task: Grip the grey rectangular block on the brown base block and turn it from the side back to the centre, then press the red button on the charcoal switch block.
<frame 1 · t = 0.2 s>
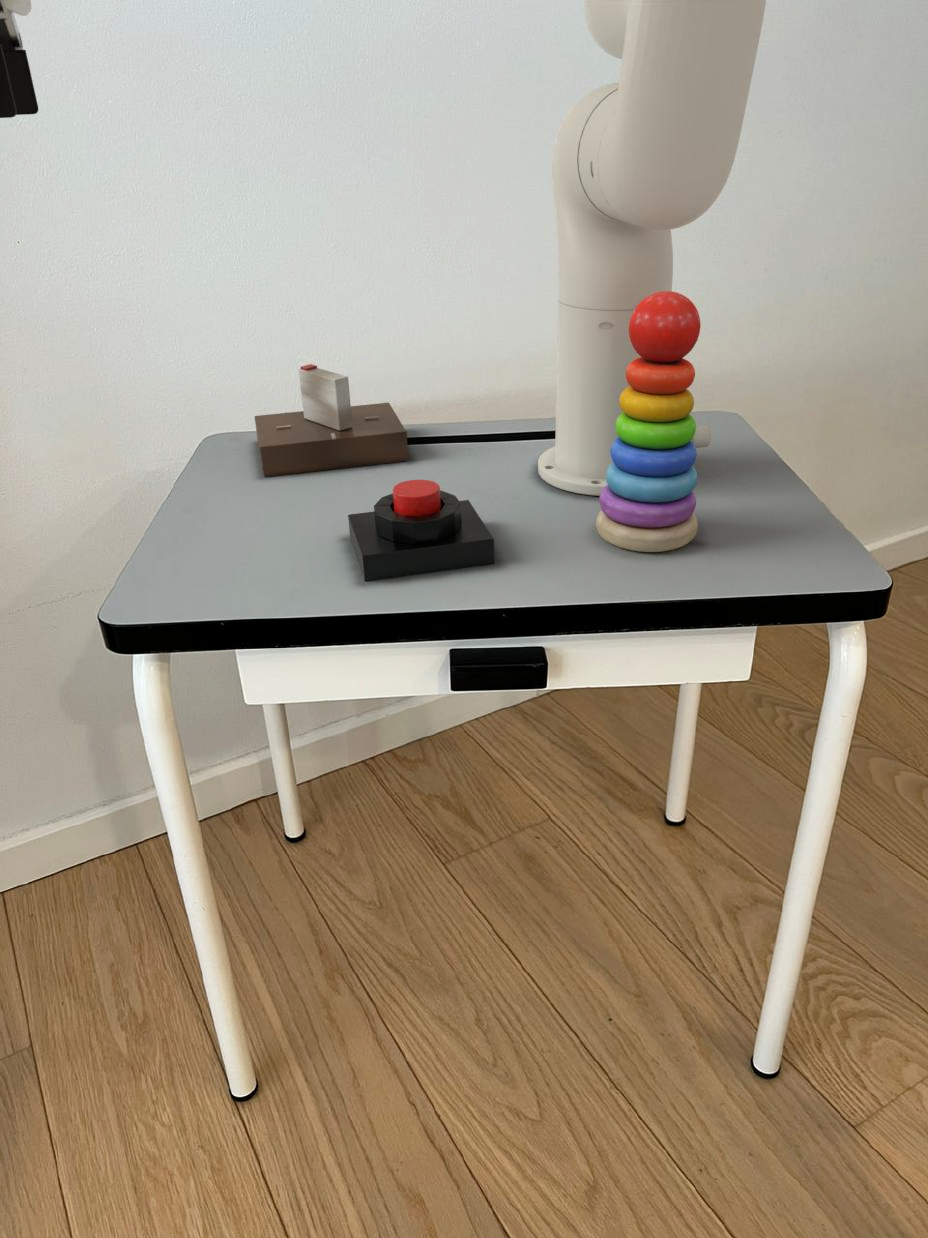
hand: (4, 115, 64), 31 cm above the table, tool pointing down, fingers open, 9 cm apart
grey rectangular block: (325, 396, 93), point 6 cm above the table, hinge at -60.0°
button: (417, 498, 72), point 4 cm above the table, slide at 0.1 cm
switch block: (420, 551, 74), on the table
stacking toy: (645, 537, 76), on the table
brown base block: (331, 452, 95), on the table
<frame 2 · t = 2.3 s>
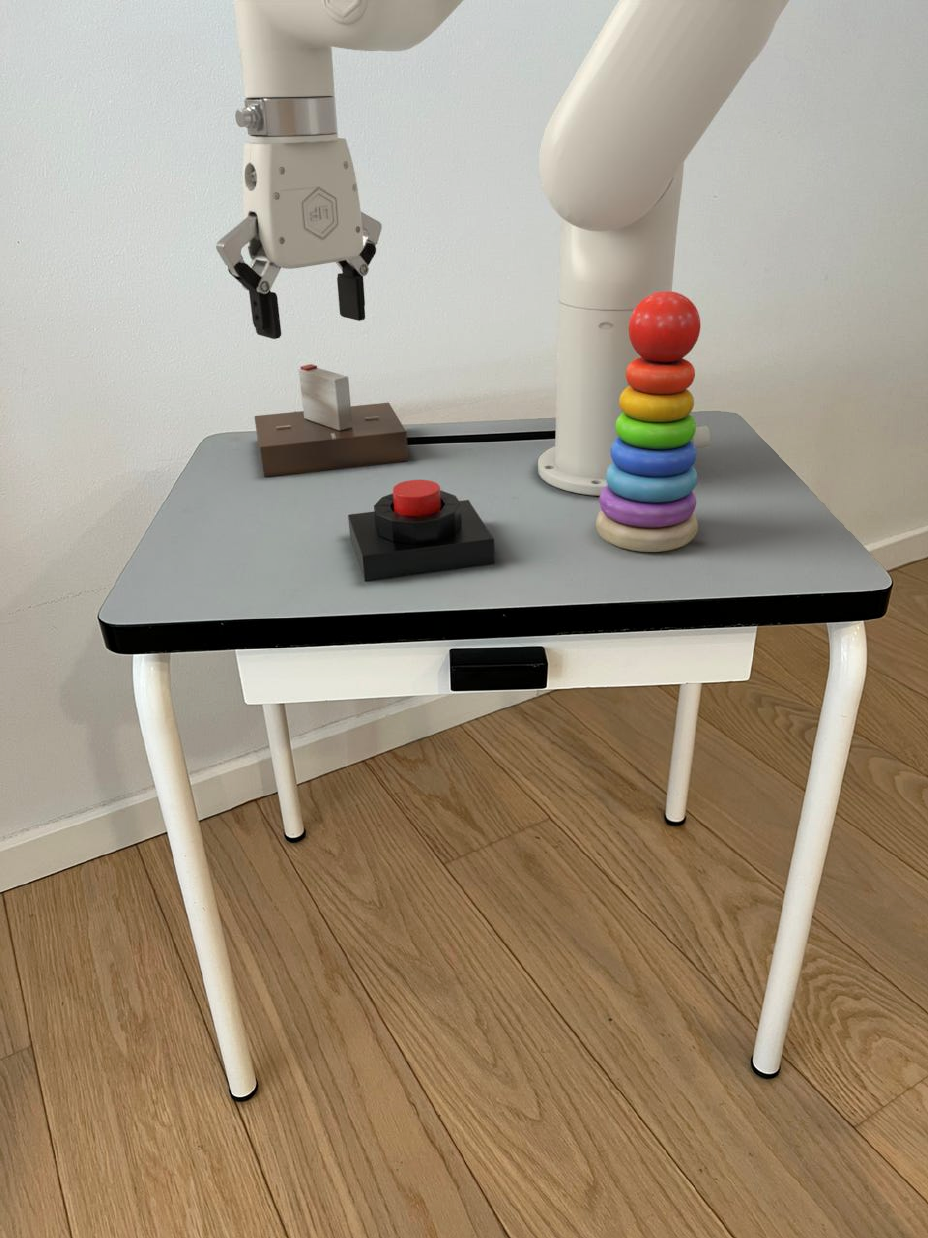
hand: (312, 326, 89), 12 cm above the table, tool pointing down, fingers open, 9 cm apart
nothing on the table moved.
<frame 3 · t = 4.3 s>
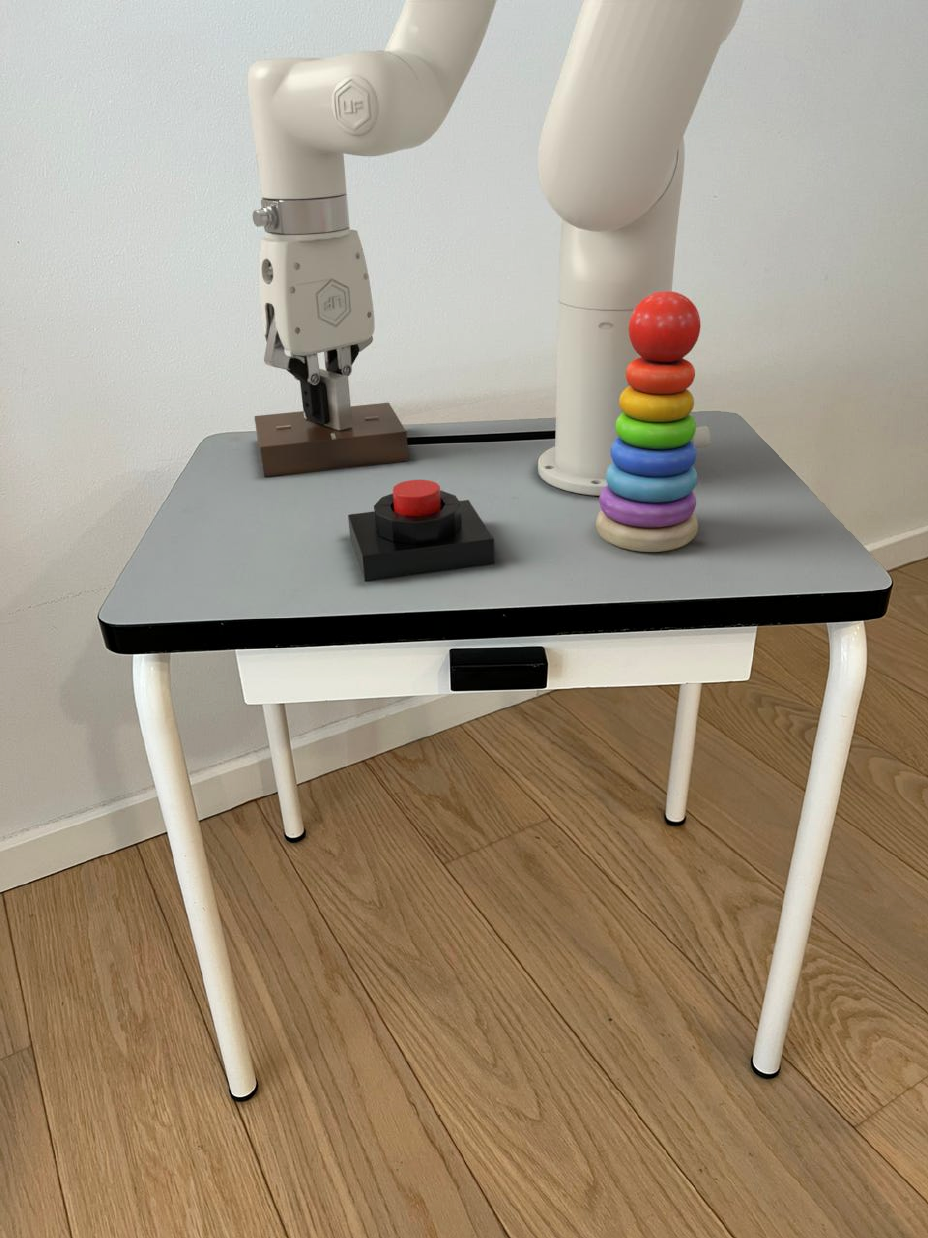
hand: (327, 416, 94), 4 cm above the table, tool pointing down, fingers closed on grey rectangular block
grey rectangular block: (325, 396, 93), point 6 cm above the table, hinge at -60.0°, touching gripper
everything else where it was.
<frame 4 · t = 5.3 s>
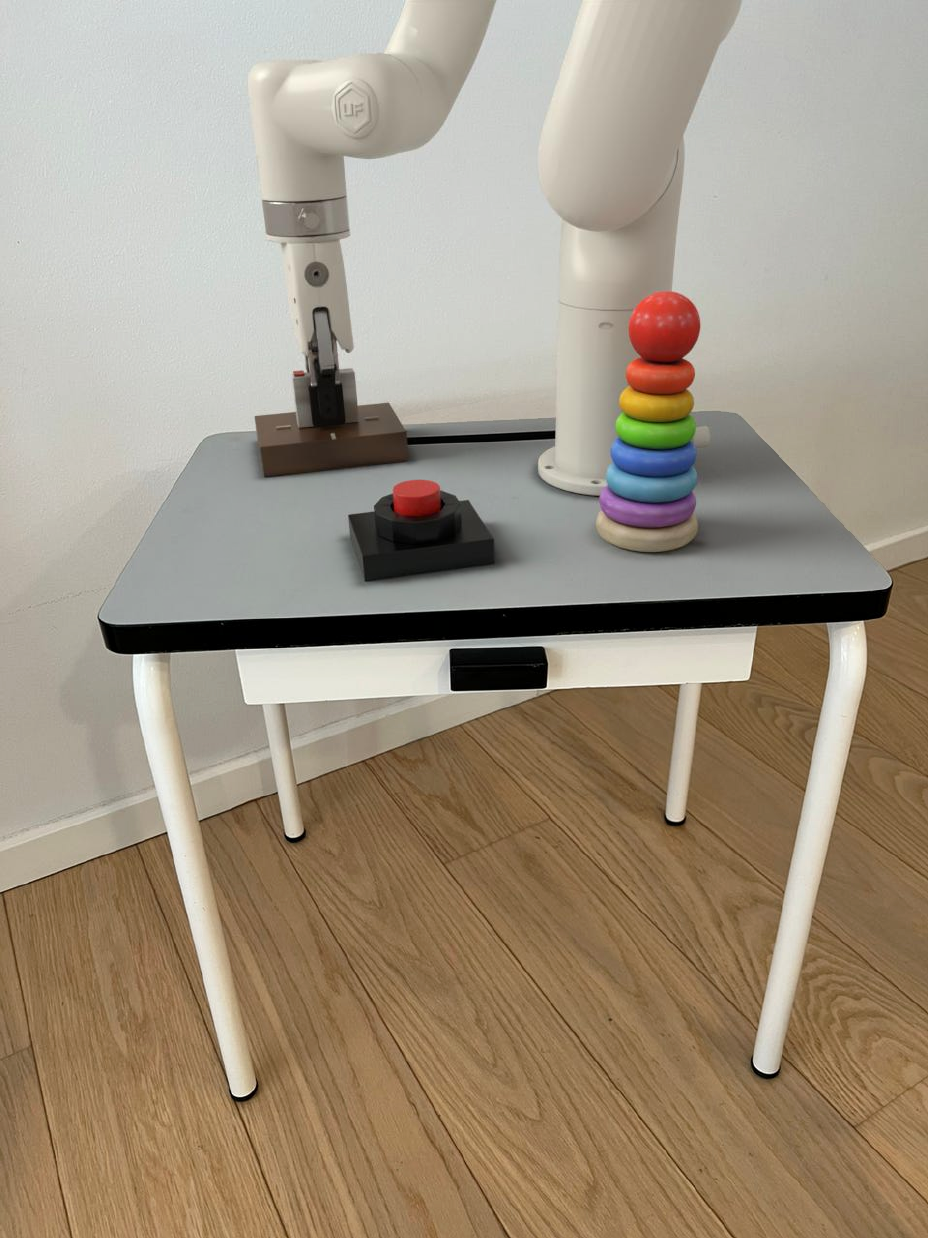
hand: (327, 418, 94), 4 cm above the table, tool pointing down, fingers closed
grey rectangular block: (325, 396, 93), point 6 cm above the table, hinge at -0.1°
everything else where it was.
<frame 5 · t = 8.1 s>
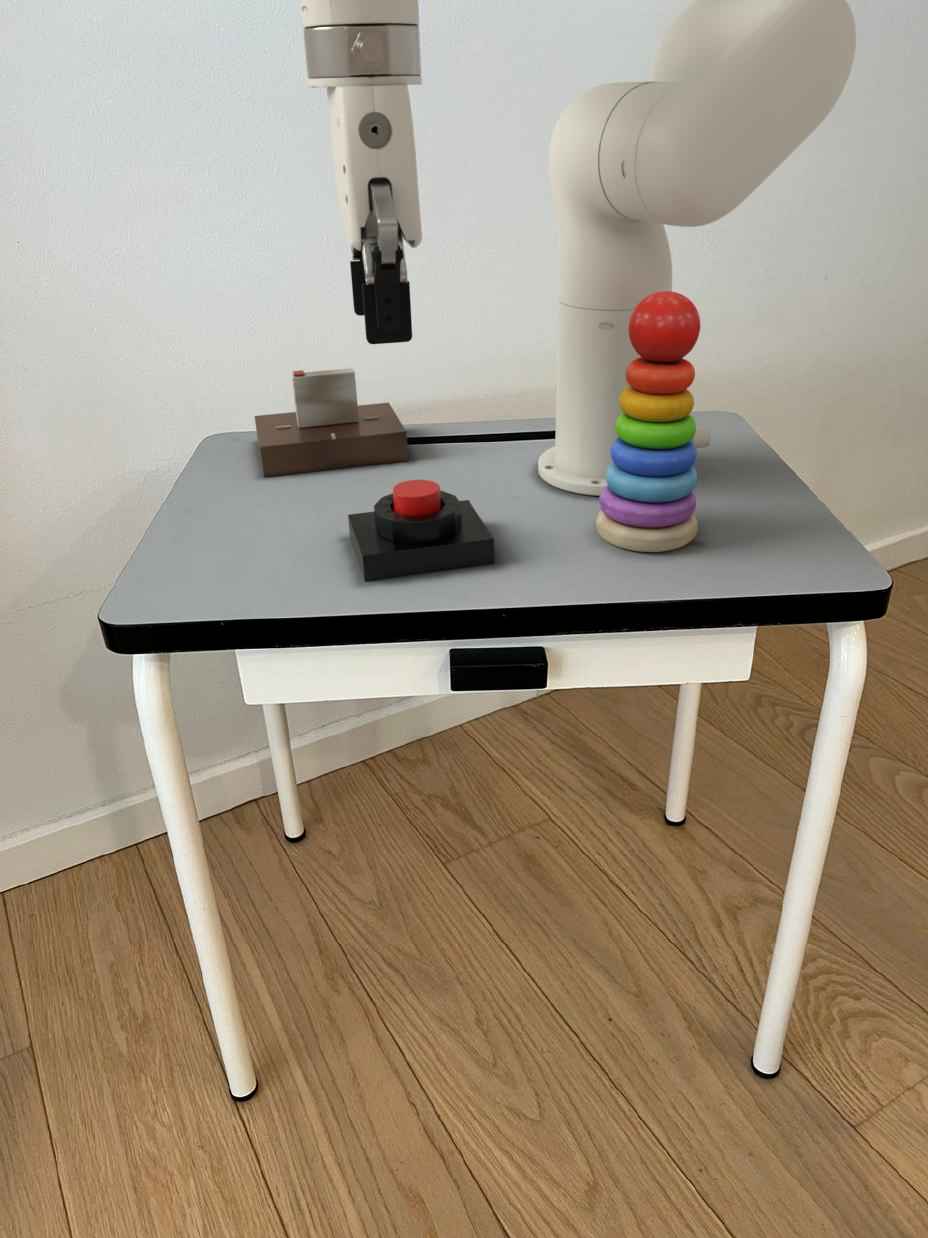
hand: (381, 326, 71), 16 cm above the table, tool pointing down, fingers open, 9 cm apart
nothing on the table moved.
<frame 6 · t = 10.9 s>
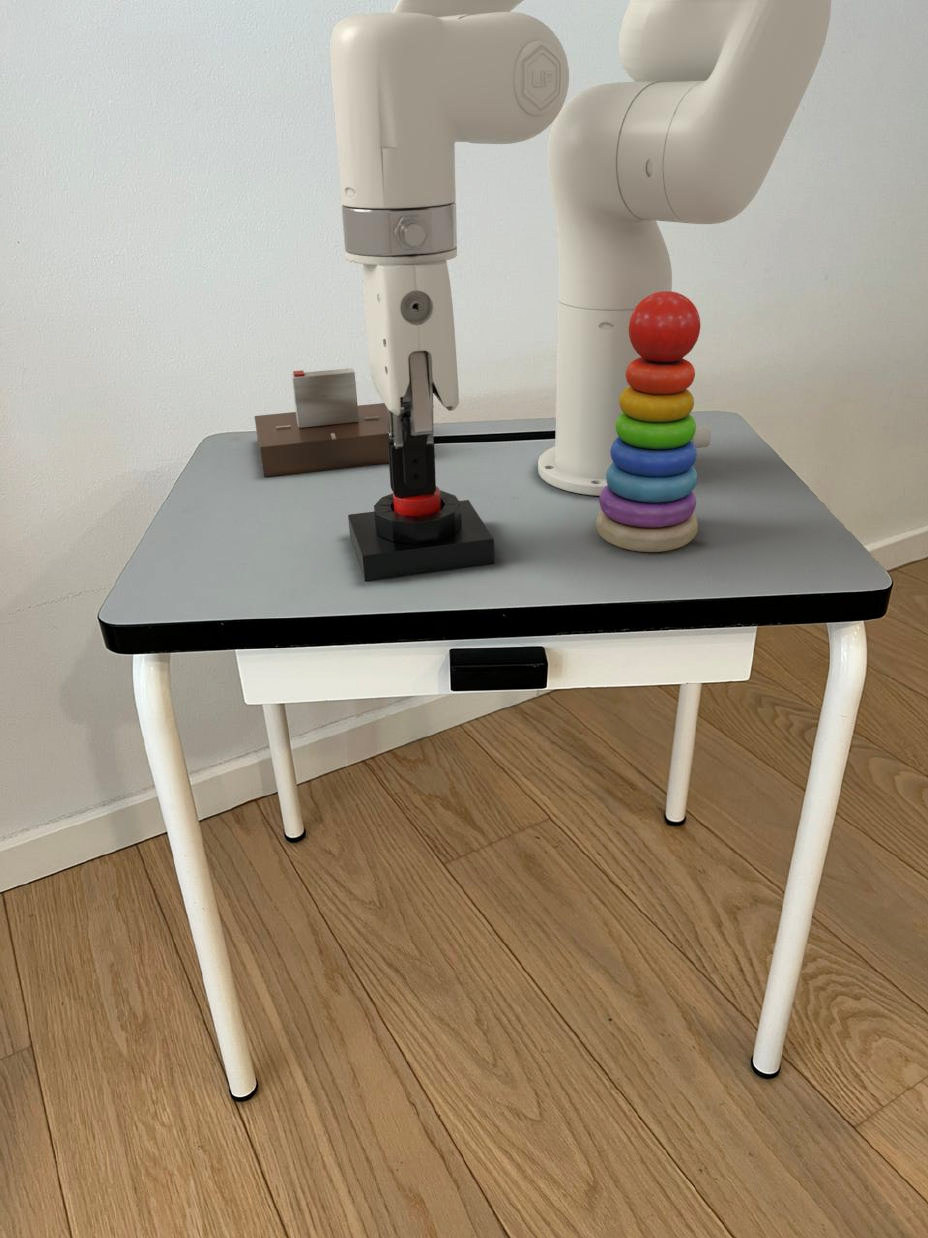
hand: (413, 491, 72), 5 cm above the table, tool pointing down, fingers closed
button: (417, 501, 72), point 4 cm above the table, slide at -0.2 cm, touching gripper
everything else where it was.
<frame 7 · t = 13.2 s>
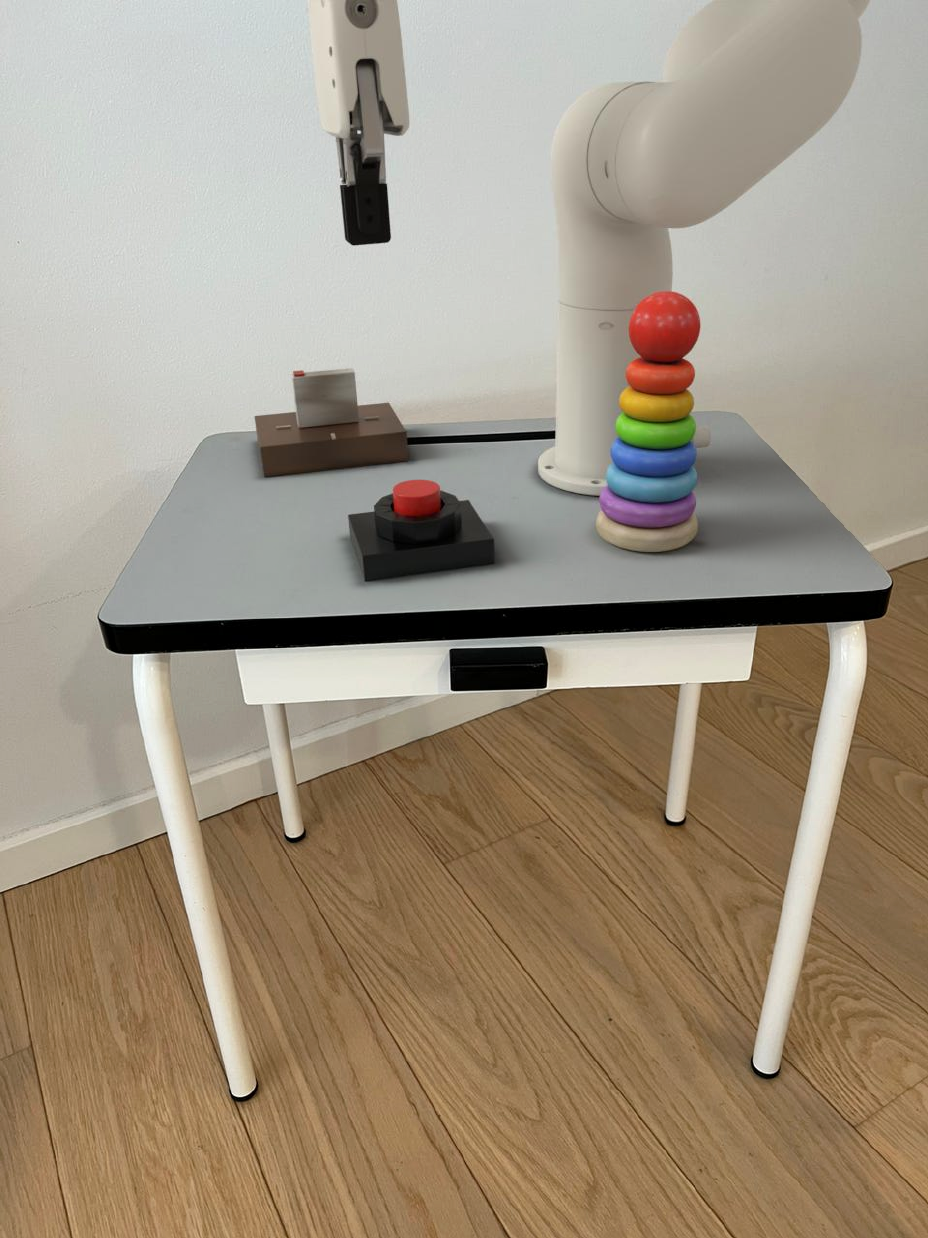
hand: (368, 241, 71), 22 cm above the table, tool pointing down, fingers closed
button: (417, 498, 72), point 5 cm above the table, slide at 0.1 cm
everything else where it was.
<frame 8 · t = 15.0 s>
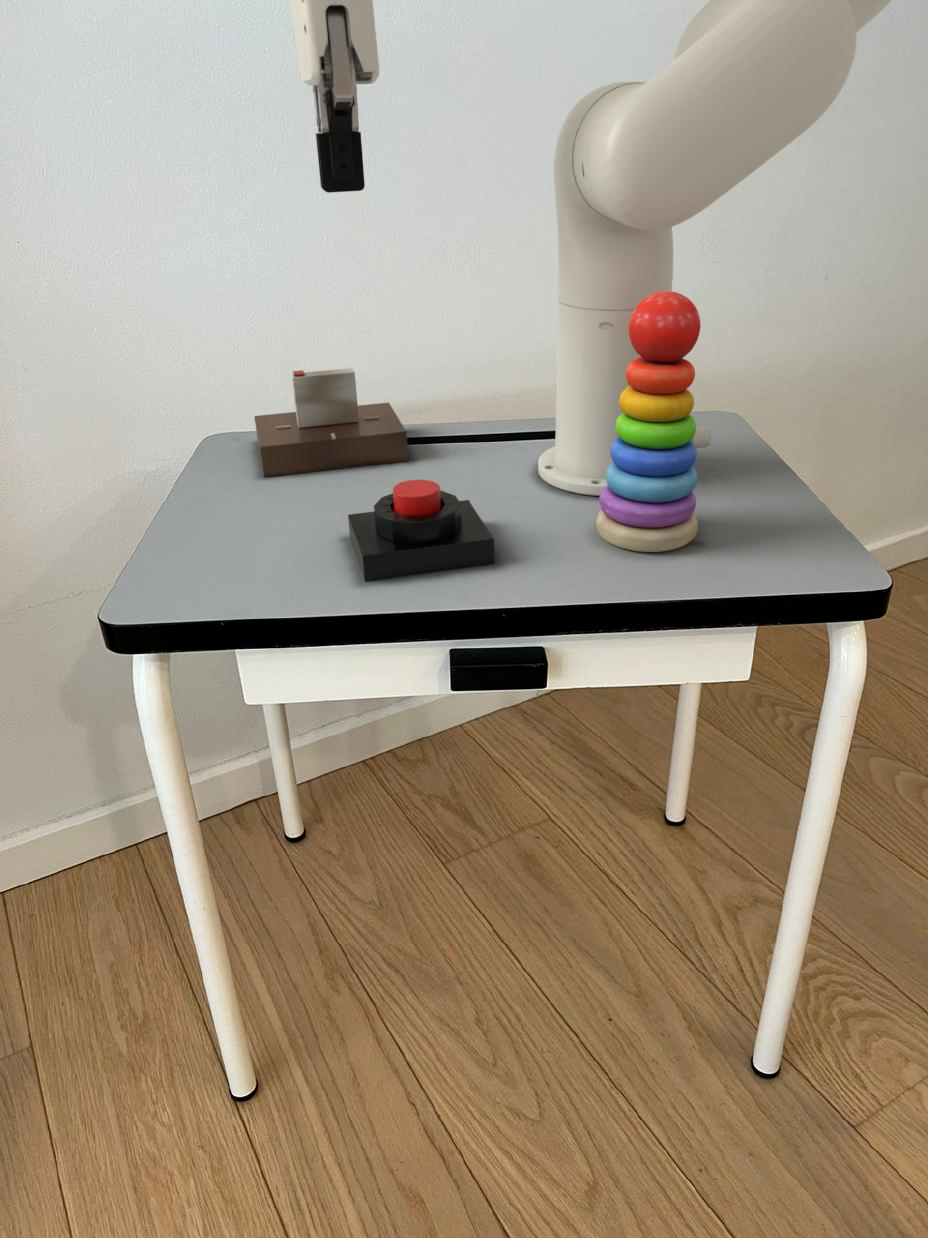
hand: (343, 189, 73), 25 cm above the table, tool pointing down, fingers closed
nothing on the table moved.
at the end: grey rectangular block at +0° (first picture: -60°); button pushed in 1.1 cm at the most during the clip, back to where it started at the end; button slide at 0.1 cm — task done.
